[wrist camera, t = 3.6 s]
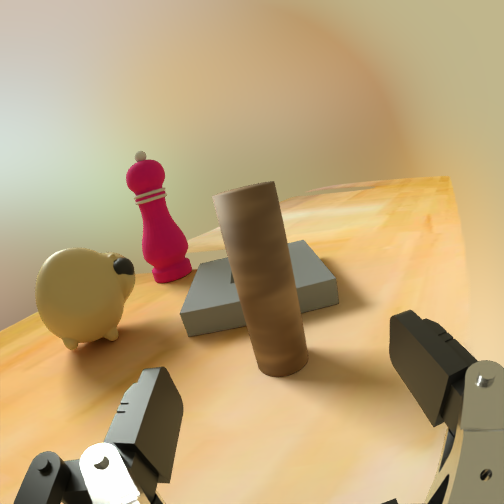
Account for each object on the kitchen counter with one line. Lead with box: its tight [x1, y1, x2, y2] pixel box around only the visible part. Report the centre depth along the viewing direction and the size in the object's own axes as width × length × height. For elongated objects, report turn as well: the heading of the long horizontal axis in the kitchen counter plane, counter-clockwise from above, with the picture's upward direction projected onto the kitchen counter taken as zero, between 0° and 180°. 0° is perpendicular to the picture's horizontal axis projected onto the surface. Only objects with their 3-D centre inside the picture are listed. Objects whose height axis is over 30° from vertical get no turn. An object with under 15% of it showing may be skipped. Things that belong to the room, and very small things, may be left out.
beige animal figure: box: [35, 248, 135, 350], centre depth 27 cm, size 10×12×11 cm
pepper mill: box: [126, 151, 192, 283], centre depth 42 cm, size 7×7×20 cm
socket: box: [180, 240, 339, 337], centre depth 32 cm, size 14×14×2 cm
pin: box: [212, 181, 308, 377], centre depth 18 cm, size 4×4×12 cm
